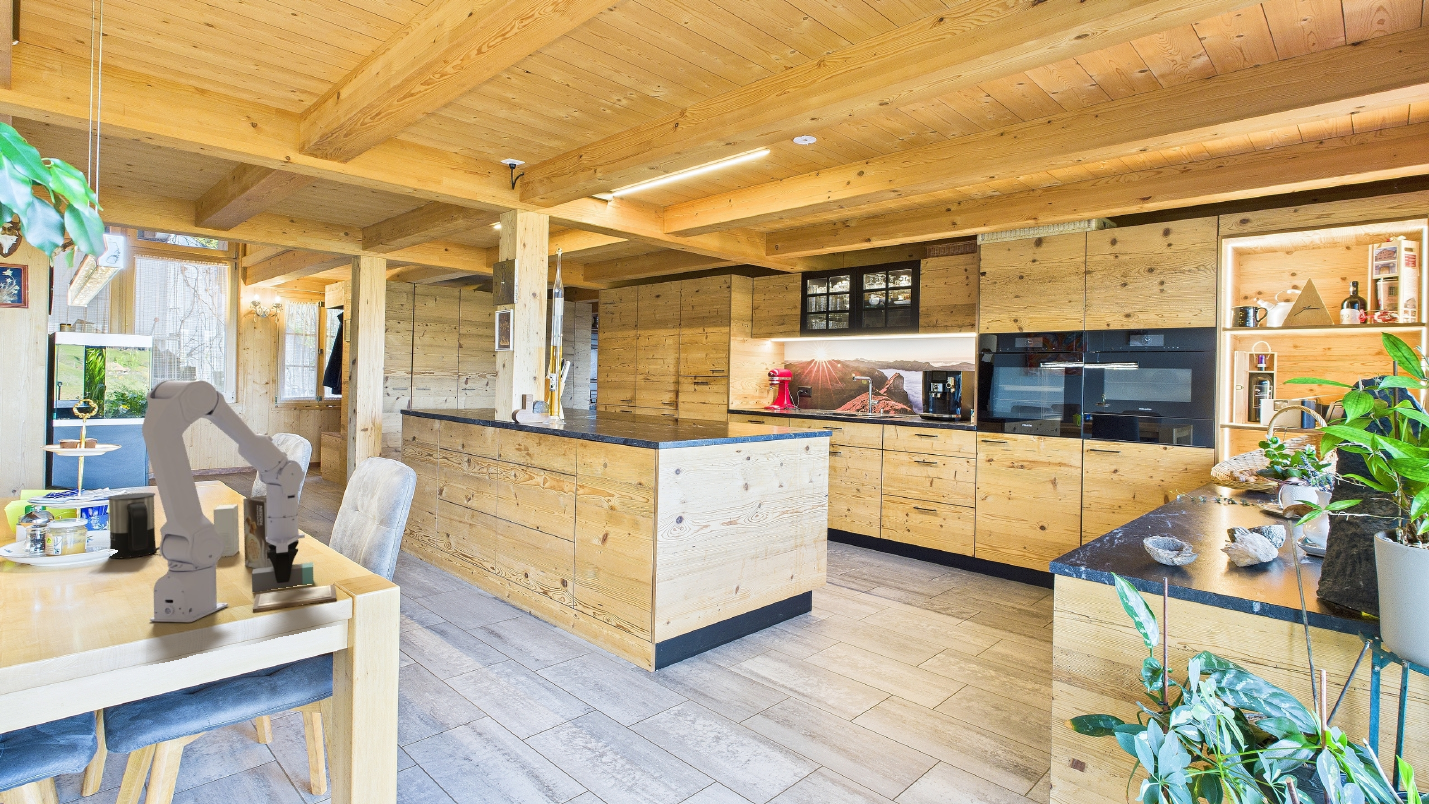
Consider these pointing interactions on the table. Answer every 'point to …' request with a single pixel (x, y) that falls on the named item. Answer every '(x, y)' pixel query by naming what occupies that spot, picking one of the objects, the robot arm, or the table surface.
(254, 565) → the coffee box
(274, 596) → the wooden tray
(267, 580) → the gray teal block
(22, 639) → the table surface
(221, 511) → the skincare box
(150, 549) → the milk frother
